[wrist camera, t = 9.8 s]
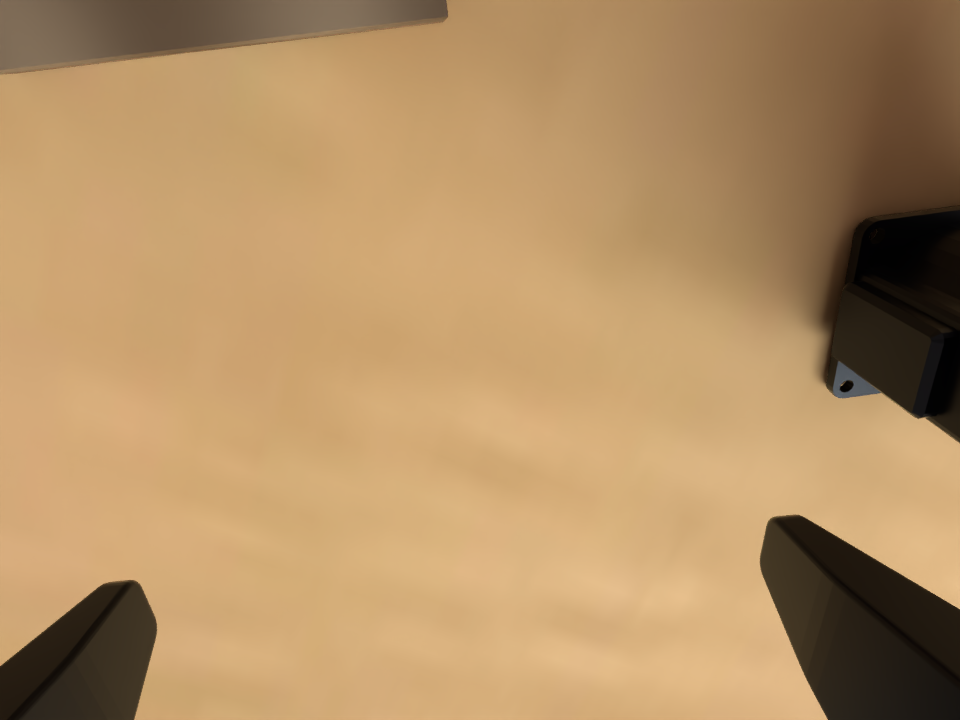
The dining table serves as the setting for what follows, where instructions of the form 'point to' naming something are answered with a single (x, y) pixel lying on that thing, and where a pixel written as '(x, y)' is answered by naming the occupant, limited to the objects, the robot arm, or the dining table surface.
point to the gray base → (182, 26)
